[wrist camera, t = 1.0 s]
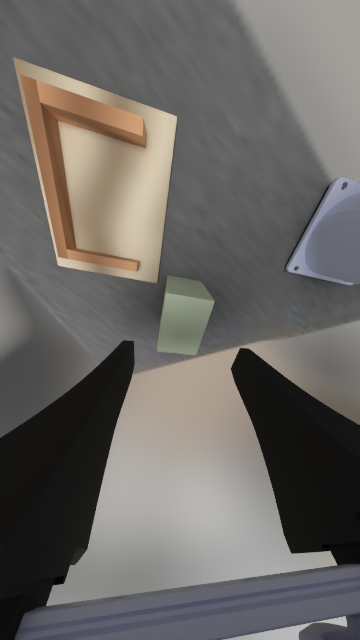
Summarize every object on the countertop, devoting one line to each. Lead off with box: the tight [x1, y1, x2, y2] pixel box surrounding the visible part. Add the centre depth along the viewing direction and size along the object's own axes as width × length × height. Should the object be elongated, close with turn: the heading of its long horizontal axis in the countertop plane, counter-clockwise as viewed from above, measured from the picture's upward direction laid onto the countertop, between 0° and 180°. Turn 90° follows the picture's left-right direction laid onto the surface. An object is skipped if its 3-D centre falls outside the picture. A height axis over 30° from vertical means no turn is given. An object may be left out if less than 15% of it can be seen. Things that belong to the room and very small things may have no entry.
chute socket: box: [13, 57, 177, 283], centre depth 12 cm, size 10×12×2 cm
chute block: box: [157, 275, 215, 355], centre depth 15 cm, size 4×6×6 cm, turn 169°
